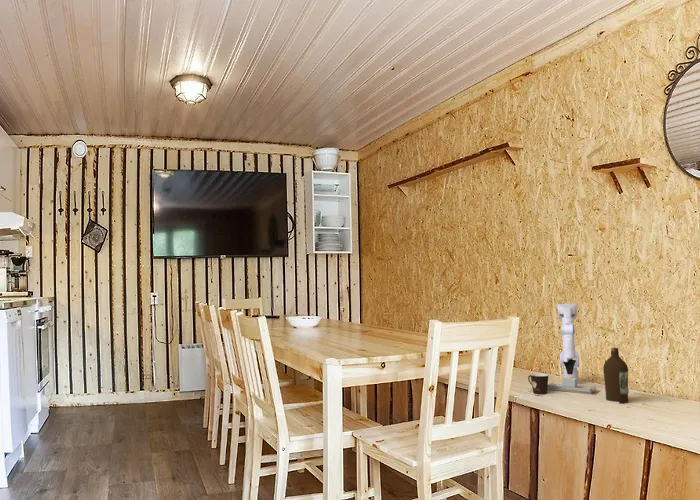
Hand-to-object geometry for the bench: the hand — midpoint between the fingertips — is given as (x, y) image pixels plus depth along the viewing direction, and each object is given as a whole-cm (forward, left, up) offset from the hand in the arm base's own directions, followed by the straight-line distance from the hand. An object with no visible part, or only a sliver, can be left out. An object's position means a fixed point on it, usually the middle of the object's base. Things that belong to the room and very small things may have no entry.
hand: (569, 374), depth 287 cm
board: (-1, 0, -9) cm, 9 cm away
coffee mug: (+13, -12, -9) cm, 20 cm away
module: (0, 0, -7) cm, 7 cm away
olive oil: (+11, +24, -9) cm, 28 cm away
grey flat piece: (-1, 0, -8) cm, 8 cm away
